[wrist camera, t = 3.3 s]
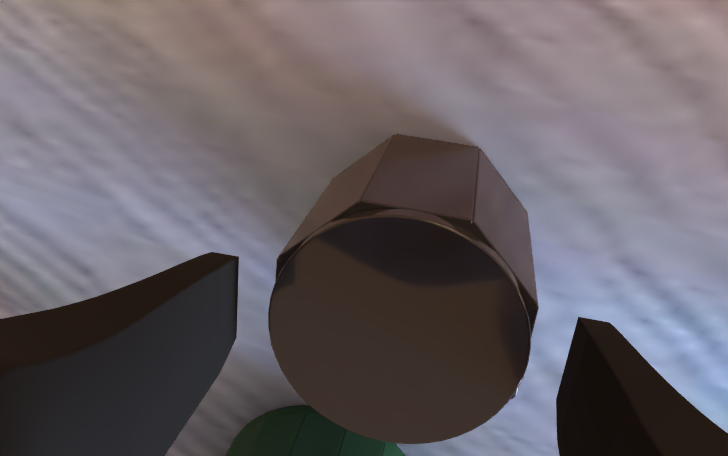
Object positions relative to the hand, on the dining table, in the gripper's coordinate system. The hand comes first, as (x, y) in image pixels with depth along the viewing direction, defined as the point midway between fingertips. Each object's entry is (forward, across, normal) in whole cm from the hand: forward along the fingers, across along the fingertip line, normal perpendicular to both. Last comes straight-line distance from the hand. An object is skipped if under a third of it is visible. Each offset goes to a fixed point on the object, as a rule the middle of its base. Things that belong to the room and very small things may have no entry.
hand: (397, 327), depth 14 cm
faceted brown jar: (+5, 0, 0) cm, 5 cm away
